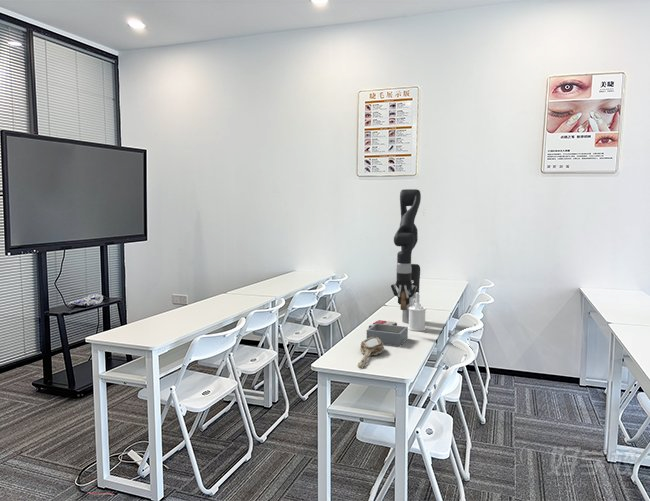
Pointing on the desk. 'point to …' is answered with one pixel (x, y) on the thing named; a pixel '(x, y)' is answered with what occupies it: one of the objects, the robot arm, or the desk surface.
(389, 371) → the desk surface
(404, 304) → the peg
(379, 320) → the calculator
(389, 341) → the grey open box
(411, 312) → the white cylindrical bottle
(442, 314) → the desk surface
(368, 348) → the hand mirror
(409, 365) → the desk surface
